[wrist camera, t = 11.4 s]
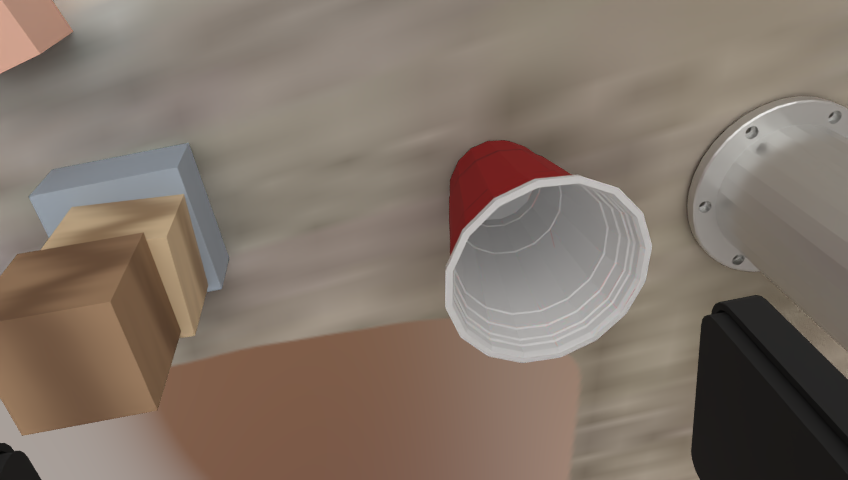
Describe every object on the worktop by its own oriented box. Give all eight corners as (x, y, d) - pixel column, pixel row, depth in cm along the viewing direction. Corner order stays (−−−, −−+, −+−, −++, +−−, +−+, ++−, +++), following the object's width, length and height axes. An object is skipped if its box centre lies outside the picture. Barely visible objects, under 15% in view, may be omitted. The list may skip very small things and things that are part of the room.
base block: (189, 141, 40) (177, 167, 37) (229, 255, 44) (221, 288, 41) (53, 167, 40) (28, 196, 37) (106, 280, 44) (88, 316, 41)
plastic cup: (553, 262, 48) (619, 374, 37) (400, 247, 45) (424, 361, 35) (600, 112, 43) (691, 193, 32) (431, 87, 40) (469, 165, 30)
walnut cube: (143, 232, 33) (110, 301, 28) (181, 331, 36) (157, 410, 31) (17, 254, 33) (-41, 328, 28) (65, 352, 36) (22, 435, 31)
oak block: (184, 193, 38) (166, 237, 33) (208, 285, 41) (194, 335, 36) (71, 207, 37) (38, 252, 33) (104, 298, 40) (78, 351, 36)
